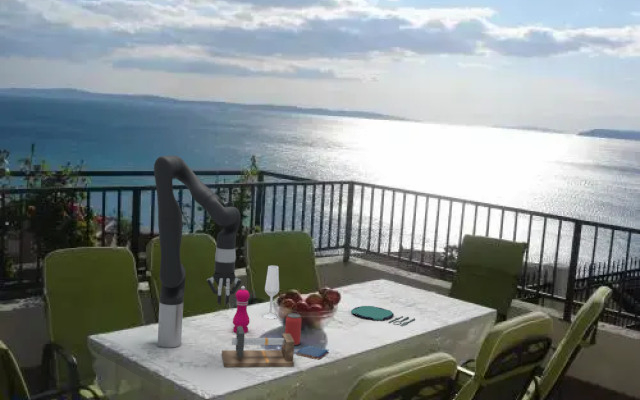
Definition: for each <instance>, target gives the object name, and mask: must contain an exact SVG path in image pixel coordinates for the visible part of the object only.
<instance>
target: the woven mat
mask: <svg viewBox="0 0 640 400" xmlns="http://www.w3.org/2000/svg"><path fill="white" fill-rule="evenodd" d="M329 351H330V350H329V349H328V348H327V349H326V348H322V347H316V346H312V345H305V346H304V347H302V348H301V349H299V350H297V352H296V353H295V354H296V356H298V357H300V356H301V357H302V356H303V357H304V358H310V359H314V360H318V361H319V360H320V359H322V358H323V357H325V355H327V354H329V353H330V352H329Z"/></svg>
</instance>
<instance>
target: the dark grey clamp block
mask: <svg viewBox="0 0 640 400" xmlns="http://www.w3.org/2000/svg"><path fill="white" fill-rule="evenodd" d="M245 334H246V333H244V330H243V327H242V326H237V333H236V337H235V338H238V345H235V350H236V352H237V356H238V357H243V352H244V350H245V347H244V346H245V345H244V338H245Z"/></svg>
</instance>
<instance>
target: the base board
mask: <svg viewBox="0 0 640 400" xmlns="http://www.w3.org/2000/svg"><path fill="white" fill-rule="evenodd" d="M281 338H284V339H285V345H281V349H280V350H279V349H276V350H274V349H273V350H272V349H270V350H269V349H268V350H267V349H265V350H261V349H260V350H258V349H257V350H249V349H248V350H245V349H244V352H243V357H238V356H237V352H236V349H235V350H221V357H222V360H223V361H222V363H223V367H224V368H273V367H274V368H284V367H286V368H287V367H289V368H290V367H294V366H295V362H294V354H295V353H294V351H295V345H294V340H293V338H292V336H291V334H285V333H282V336H281Z"/></svg>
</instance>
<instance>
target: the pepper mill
mask: <svg viewBox="0 0 640 400" xmlns="http://www.w3.org/2000/svg"><path fill="white" fill-rule="evenodd" d="M250 296H251V295H250V293H249V291H248V290H247V289H246V287H245V286H244V285H242V286H241V287H240V289H238V290H236V291H235V299H236V303H235V304H236V305H237V308H236V312H235V314H234V315H233V319H232V324H233V325H234V326H233V327H232V328H233V331H232V332H234V333H236V334H237V326H242V327H243V330H244V333H245V334H246V333H248V332H249V327H248V326H249V324H250V317H249V314H248V310H247V308H248V305H249V299H250Z"/></svg>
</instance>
